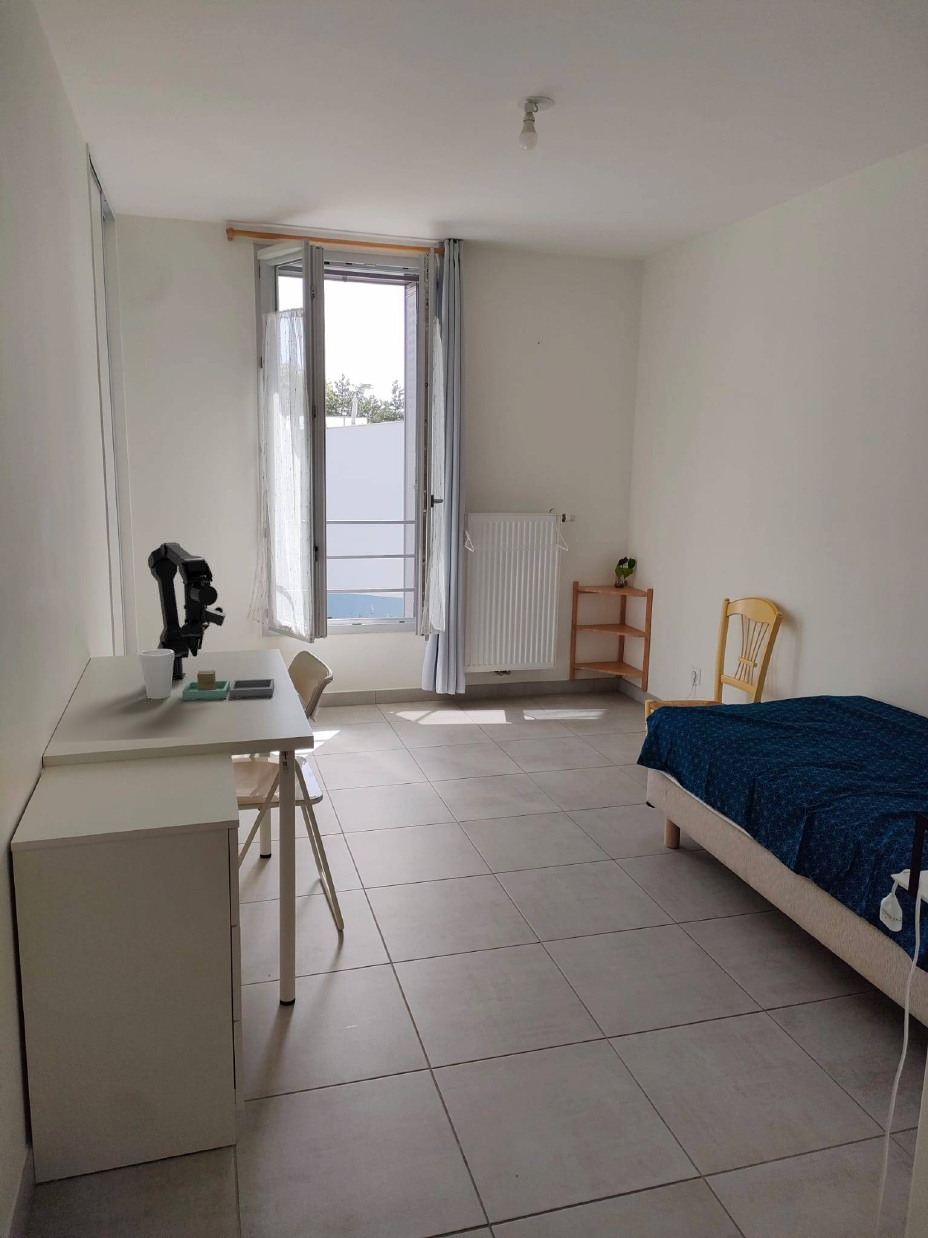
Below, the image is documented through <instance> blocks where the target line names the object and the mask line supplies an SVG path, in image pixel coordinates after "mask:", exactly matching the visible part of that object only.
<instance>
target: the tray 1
mask: <svg viewBox="0 0 928 1238" xmlns="http://www.w3.org/2000/svg"><path fill="white" fill-rule="evenodd" d="M230 687H231V680H216V690H203V691H198V681H188V682H187V684H186V685H185V686H184V689H183V690H182V701H198V700H197V699H207V700H224V698H226V697H227V698H228V696H227V695H229V694H230V692H229V690H230ZM227 698H226V699H227Z"/></svg>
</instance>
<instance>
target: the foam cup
mask: <svg viewBox="0 0 928 1238" xmlns="http://www.w3.org/2000/svg"><path fill="white" fill-rule="evenodd" d="M138 659H139V660H138V661H139V662H140V666H141V671H142V675H143V676H142V677H143V682H144V686H145V691H146V696H147V698H148V697H149V698H148V699H150V698H151V699H150V700H161V699H162V698H163V699H166V698H165V697H167V698H169V696H170V695H172V685H173V684H172V683H173V679H172V674H173V662H174V651H173V650H169V649H157V648H154V649H147V650H143V651H140V652H139V653H138ZM170 697H171V696H170Z"/></svg>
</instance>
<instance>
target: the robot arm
mask: <svg viewBox="0 0 928 1238" xmlns="http://www.w3.org/2000/svg"><path fill="white" fill-rule="evenodd" d="M147 564H148V568H149V570H150V575H152V577H153V579H155V580H156V581H157V587H158V592H159V601H160V608H161V609H160V610H161V616H162V625H163V628H162V631H161V633H160V635H159V643H158V646H157V648H156V649H169V650H173V651H174V662H173V674H172V680H183V679H184V678H185V677H186V672H184V667H183V659H185V658H186V659H187V658H189V654H190V653H191V656H192V657H197V656H198V654H199V650H202V645H203V641H204V636H205V631H206V630H207V629H208V628H209V627H210V624H215V625H216V626H219V627H222V626H223V624H224V621H225V618H226V615H227V614H226V612H224V609H223V607H221V606H216V608H209V606H212V605H214V604H215V603H216V602H217V599H218V597H219V596H218V595H219V594H218V591H217V589H216V588H215V587H214V586H212V585H211V583H212V582H213V576H214V575H213V573H212V570H211V568H210V565H209V564H208V561H206V559H205V557H202V556H200V555H192V554H190V553H189V552H188V551H187V550H185V549H184V548H183V547H182V546H180V543H178V542H175V541H174V542H163V543H161V544H160V546H159V547H158V548H156V549H155V550H153V551H151V553H150V554H149V556H148V558H147ZM177 573H179V574H180V577H181V579H182V584H183V590H184V591H183V594H184V596H183V597H184V605H183V610H184V614H185V618H184V623H183V625H182V626H181V624H180V620H179V611H178V606H177V605H178V604H177V596H176V590H175V582H174V579H175V577H176V575H177Z"/></svg>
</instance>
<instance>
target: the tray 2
mask: <svg viewBox="0 0 928 1238" xmlns="http://www.w3.org/2000/svg"><path fill="white" fill-rule="evenodd" d="M274 690H275V679H274V678H261V679H258V678H257V679H256V678H255V679H254V678H253V679H233V680H232V682H231V684H230V690H229V699H230V698H233V699H240V698H239V697H258V698H273V695H274ZM237 697H238V698H237Z"/></svg>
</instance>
